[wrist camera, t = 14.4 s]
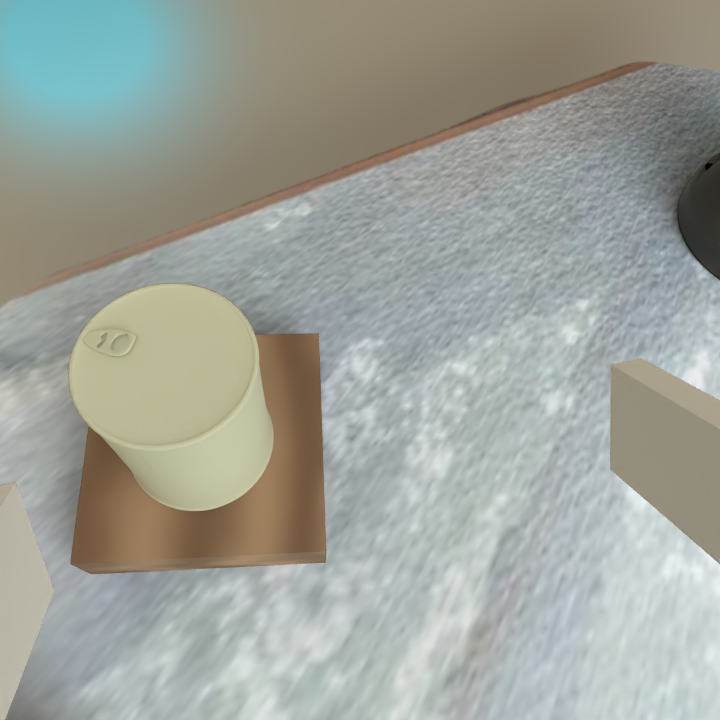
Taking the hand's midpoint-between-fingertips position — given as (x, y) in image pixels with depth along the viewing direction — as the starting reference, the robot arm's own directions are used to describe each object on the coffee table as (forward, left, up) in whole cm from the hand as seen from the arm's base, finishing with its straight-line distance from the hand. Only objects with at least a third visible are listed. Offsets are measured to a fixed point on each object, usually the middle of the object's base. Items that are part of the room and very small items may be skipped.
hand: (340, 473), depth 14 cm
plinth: (+7, -11, -30) cm, 33 cm away
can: (+8, -10, -27) cm, 30 cm away
